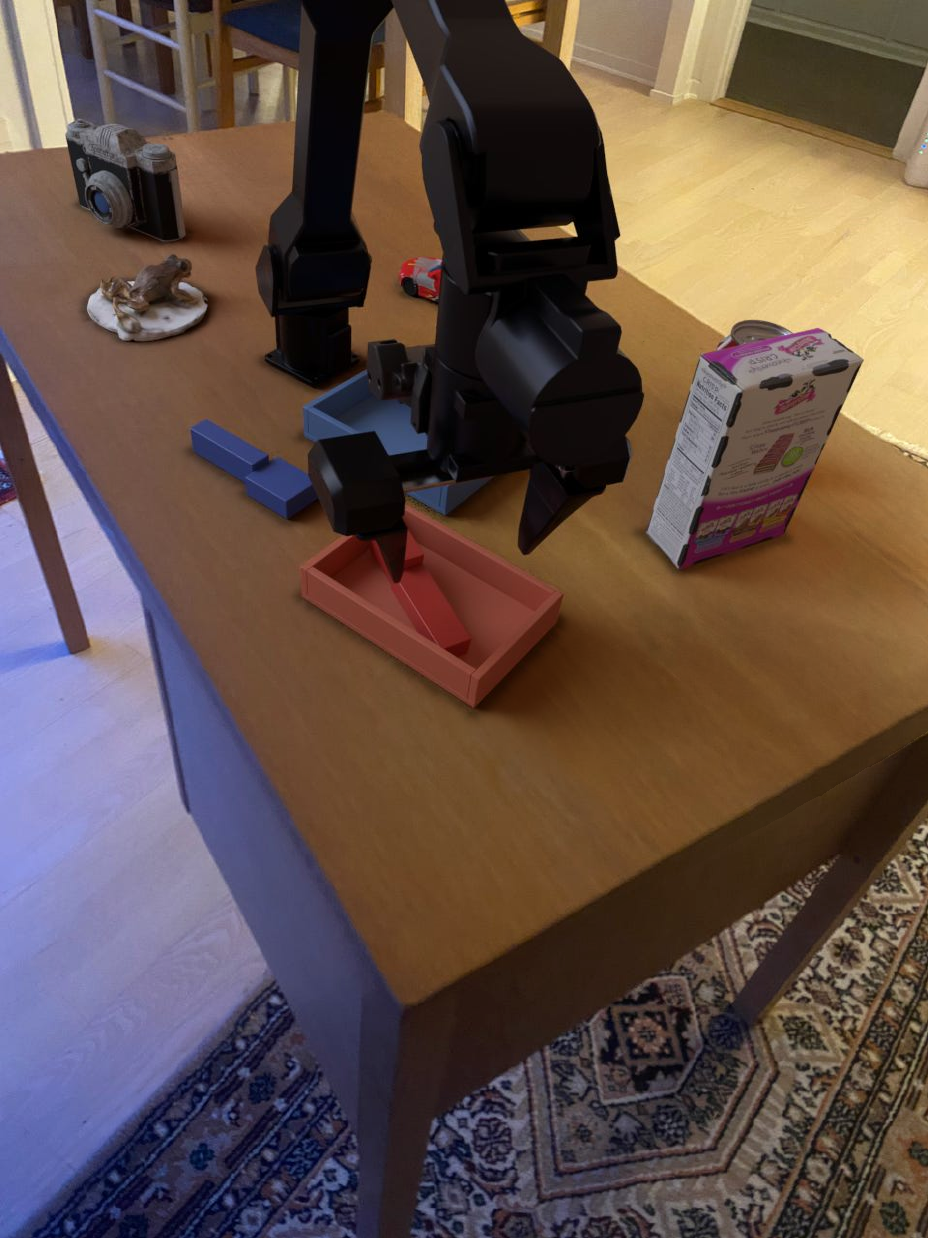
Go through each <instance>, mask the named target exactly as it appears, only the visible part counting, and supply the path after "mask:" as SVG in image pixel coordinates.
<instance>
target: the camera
mask: <svg viewBox="0 0 928 1238" xmlns="http://www.w3.org/2000/svg"><path fill="white" fill-rule="evenodd" d="M64 136H65V141H66V146H67V150H68V151H67V152H68V154H69V160H70V164H71V169H72V174H73V179H74V184H75V188H76V193H77V198H78V202H79V207H81V208H83V209H85V210H88V211H90V212H91V214H92V215H93V217H94V218H95V219H96V220H98V221H99V222H100V223H101V224H106V225H107V226H110V227H113V228H116V229H120V228H124V229H127V228H131V229H132V230H135V231H138V232H140V233H142V234H145V235H146V236H149V237H151V238H154V239H156V240H159V241H162V242H167V243H168V242H174V241H178V240H181V239H183V238H184V237H185V236H186V235H187V234H186V233H187V232H186V225H185V217H184V210H183V201H182V193H181V186H180V185H181V184H180V179H179V177H180V176H179V170H178V165H177V156H176V152H174V151H172V150H170V146H168V145H166V144H162V143H151V142H148V141H147V140H146V138H145V137H144V136H143V135H141V134H140V132H139V131H138V130H137V129H134V128H132V127H129V126H126V125H123V124H119V123H109V124H102V125H98V126H97V127H96V125H95V124H94V123H92V122H90V121H88V120H84V119H83V118H76V120H73V121H72V122H69V123H68V124H67V125H66V132H65V134H64Z"/></svg>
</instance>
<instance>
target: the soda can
mask: <svg viewBox="0 0 928 1238" xmlns="http://www.w3.org/2000/svg"><path fill="white" fill-rule="evenodd" d="M793 333H794V332H792V331H791V330H789V329H788V328H786V327H784V326H782V325H780V324H777V323H775V322H771V321H767V320H762V319H744V320H741V321H738V322H736V323H734V324H733V326H732V327H731V329H730V334H728V335H727V336H725V337H724V338H722V339H721V340H720V342H719V343H718V344H717V347H716V349H715V351H717V350H721V349H726V348H730V347H735V346H739V345H744V344H748V343H753V342H757V341H762V340H766V339H771V338H775V337H780V336H784V335H789V334H793Z"/></svg>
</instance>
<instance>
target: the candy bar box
mask: <svg viewBox="0 0 928 1238" xmlns="http://www.w3.org/2000/svg"><path fill="white" fill-rule="evenodd" d="M792 333H793V334H789V335H784V336H780V337H775V338H771V339H766V340H762V341H757V342H753V343H748V344H744V345H739V346H735V347H730V348H726V349H721V350H717V351H716V350H713V351H708V352H703V353H700V354H699V358H698V361H697V364H696V368H695V371H694V373H693V378H692V381H691V385H690V387H689V392H688V394H687V397H686V400H685V404H684V407H683V410H682V414H681V417H680V420H679V423H678V427H677V430H676V433H675V437H674V441H673V445H672V447H671V450H670V453H669V456H668V459H667V462H666V465H665V469H664V470H665V471H664V473H663V476H662V479H661V482H660V485H659V489H658V492H657V495H656V499H655V501H654V504H653V508H652V511H651V515H650V517H649V522H648V525H647V528H646V531H645V534H646V535H647V537H648V538H649V539H650V540H651V542H652V543H653V544H654V545H655V546H656V547H657V548H659V549H660V551H661V552H662V553H663V554H664V555H665V556H666V558H667V559H668V560H669V561H670V562H671V563H672V564H673V566H675V567H676V569H678V570H683V569H686V568H688V567H692V566H696V565H699V564H701V563H704V562H707V561H710V560H714V559H716V558H719V557H722V556H724V555H728V554H731V553H734V552H736V551H740V550H743V549H746V548H750V547H752V546H755V545H758V544H761V543H765V542H767V541H771V540H774V539H776V538H780V537H783V536H785V534H786V532H787V529H788V527H789V525H790V523H791V520H792V518H793V516H794V514H795V512H796V509H797V507H798V506H799V503H800V501H801V498H802V496H803V494H804V492H805V489H806V487H807V485H808V483H809V481H810V479H811V476H812V474H813V472H814V470H815V468H816V466H817V464H818V461H819V458H820V456H821V454H822V452H823V450H824V447H825V445H826V444H827V441H828V440H829V438H830V435H831V433H832V431H833V428H834V426H835V424H836V422H837V420H838V417H839V415H840V413H841V410H842V409H843V406H844V404H845V402H846V400H847V398H848V396H849V393H850V392H851V389H852V387H853V385H854V382H855V380H856V378H857V375H858V374H859V372H860V370H861V367H862V365H863V363H864V361H865V359H864V358H863V357H861V356H860V355H858V354H857V353H856V352H855V351H853V350H851V349H850V348H848V347H847V346H846V345H845V344H844V343H842V342H840V341H839V340H838V339H837V338H833V337H832V334H831V333H829V332H828V331H826V330H824V329H822V328H820V327H816V328H810V329H807V330H803V331H798V332H792Z"/></svg>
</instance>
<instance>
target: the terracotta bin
mask: <svg viewBox="0 0 928 1238" xmlns="http://www.w3.org/2000/svg"><path fill="white" fill-rule="evenodd" d="M402 518H403V520H404V522H405V524H406V526H407V527H408V530H409V531H410V533H411V534H412V536H413V537H414V539H415V541H416V542H417V544H418V545H419V547H420V548H421V550H422V551H423V553H424V560H423V564H424V565H425V567H426V568H427V570H428V572H429V573H430V575H431V576H432V578H433V579H434V581H435V582H436V584H437V585H438V587H439V589H440V590H441V592H442V593H443V595H444V596H445V598H446V599H447V601H448V602H449V604H450V606H451V607H452V609H453V610H454V612H455V613H456V615H457V616H458V618H459V619H460V621H461V623H462V624H463V626H464V627H465V629H466V630H467V632H468V633H469V635H470V636H471V642H470V646H469V649H468V653H466V654H464V655H461V656H458V657H456V656H454V655H452V654H451V653H449V652H448V651H446V650H445V649H443V648H441V647H440V646H438V645H437V644H435V643H433V642H432V641H430V640H429V639H427V638H425V637H424V636H422V635H421V634H419V633H418V632H417V631H416V629H415V627H414V626H413V624H412V623H411V621H410V619H409V618H408V616H407V614H406V613H405V611H404V609H403V608H402V606H401V605H400V603H399V601H398V600H397V598H396V596H395V595H394V593H393V592H392V590H391V583H390V582H389V580H388V579H387V577H386V575H385V574H384V572H383V570H382V569H381V567H380V566H379V564H378V562H377V561H376V559H375V557H374V556H373V554H372V553H371V551H370V546H371V541H366V542H365V541H360V540H358V539H357V538H356V537H355V535H352V536H344V535H341V536H340V537H338V538H337V539H336V540H334V541H333V542H332V543H331V544H329V545H327V546H326V547H325V548H324V549H322V550H321V551H319V552H318V553H317V554H315V555H314V556H313V557H311V558H309V560H307V561H306V562H304V564H302V565H301V566H300V586H301V588H300V589H301V597H302V598H303V599H304V600H306V601H308V602H309V603H310V604H311V605H313V606H315V607H317V608H318V609H320V610H321V611H323V612H325V613H326V614H327V615H329V616H330V617H332V618H334V619H335V620H337V621H338V622H340V623H341V624H343V625H345V626H346V627H348V628H349V629H351V630H352V631H354V632H356V633H357V634H359V635H360V636H362V637H363V638H365V639H366V640H367V641H369V642H371V643H372V644H374V645H375V646H377V647H379V648H380V649H381V650H383V651H385V652H386V653H388V654H389V655H391V656H393V657H394V658H396V659H397V660H399V661H400V662H402V663H403V664H405V665H406V666H407V667H409V668H411V669H413V670H414V671H416V672H417V673H418V674H420V675H422V676H423V677H424V678H426V679H428V680H429V681H431V682H433V683H434V684H435V685H437V686H439V687H441V688H442V689H443V690H444V691H446V692H448V693H449V694H450V695H453V696H454V697H456V698H457V699H459V700H460V701H462V702H464V703H465V704H467V705H468V706H469V707H471V708H472V709H475V708H476V707H478V705H479V704H480V703H481V702H482V701H483V700H484V699H485V698H486V697H487V695H489V693H490V692H491V691H492V690H493V689H494V688H495V687H496V686H497V685H498V684H499V683H500V682H501V681H502V679H504V678H505V677H506V676H507V674H509V673H510V671H511V670H513V668H515V666H517V664H518V663H519V662H520V661H521V660H522V659H523V658H524V657H525V656H526V655H527V654H528V653H529V652H530V651H531V650H532V649H533V648H534V647H535V646H536V645H537V644H538V642H540V641H541V639H542V638H543V637H544V636H545V635H546V634H547V633H548V632H549V631H550V630H551V629H552V628H554V626H555V625H556V624H557V622H558V618H559V614H560V611H561V606H562V603H563V599H564V595H565V593H564V592H562V591H561V590H559V589H557V588H555V587H553V586H551V585H550V584H548V583H546V582H545V581H543V580H541V579H540V578H538V577H536V576H534V575H533V574H530V573H529V572H527V571H525V570H524V569H522V568H520V567H518V566H517V565H514V564H513V563H511V562H510V561H508V560H506V559H504V558H502V557H501V556H499V555H497V554H495V553H493V552H492V551H491V550H488V549H487V548H485V547H483V546H481V545H480V544H478V543H476V542H474V541H472V540H471V539H469V538H467V537H466V536H464V535H462V534H460V533H458V532H457V531H456V530H454V529H451V528H450V527H448V526H446V525H444V524H443V523H441V522H439V521H437V520H436V519H434V518H432V517H430V516H429V515H426V514H425V513H423V512H421V511H419V510H418V509H416V508H414V507H413V506H411V505H409V504H408V503H406V502H405V515H404V516H403V517H402Z"/></svg>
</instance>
